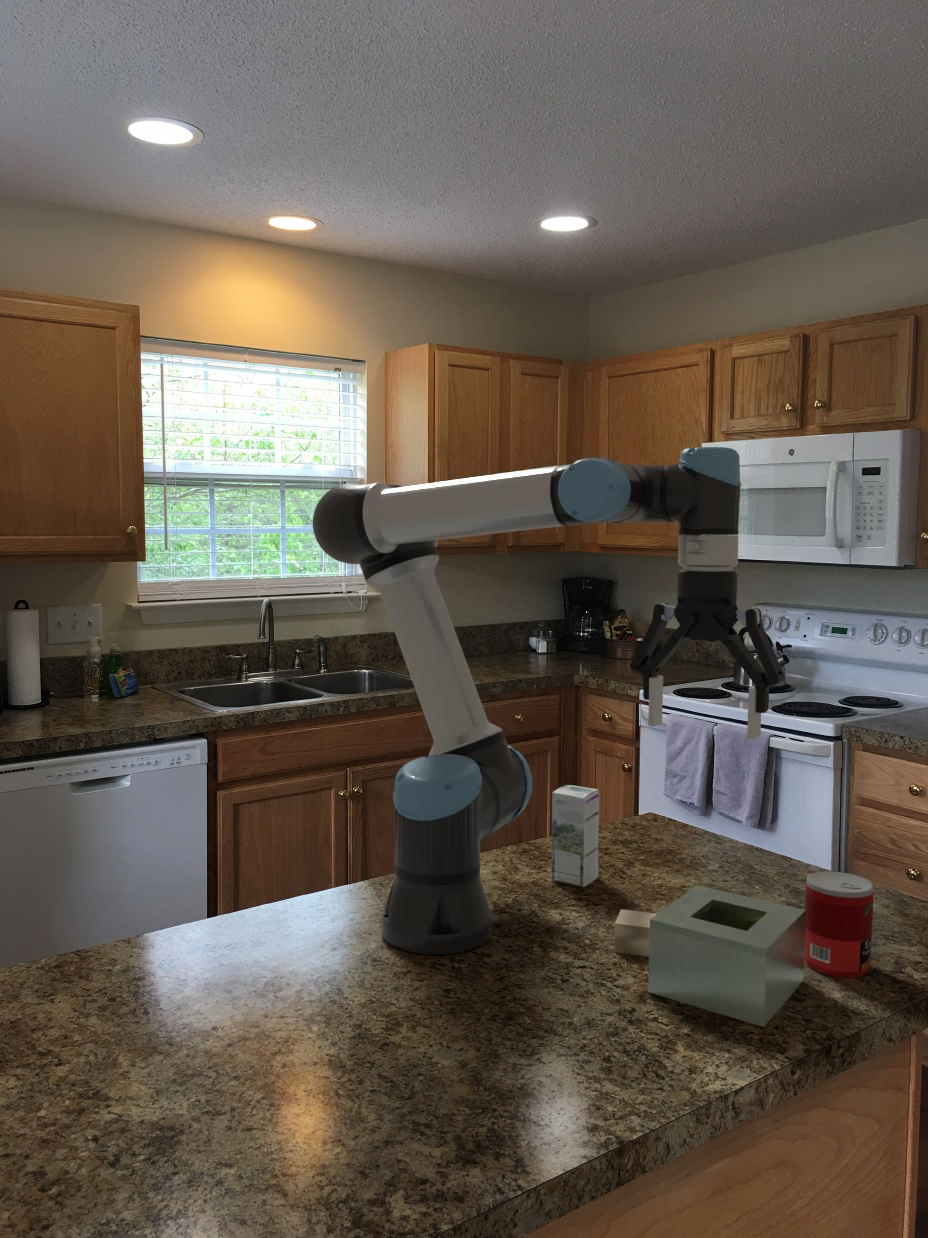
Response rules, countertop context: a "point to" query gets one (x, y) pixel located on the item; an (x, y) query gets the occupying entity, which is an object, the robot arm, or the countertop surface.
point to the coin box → (727, 953)
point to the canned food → (838, 924)
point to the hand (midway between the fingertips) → (703, 731)
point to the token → (633, 932)
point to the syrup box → (575, 835)
